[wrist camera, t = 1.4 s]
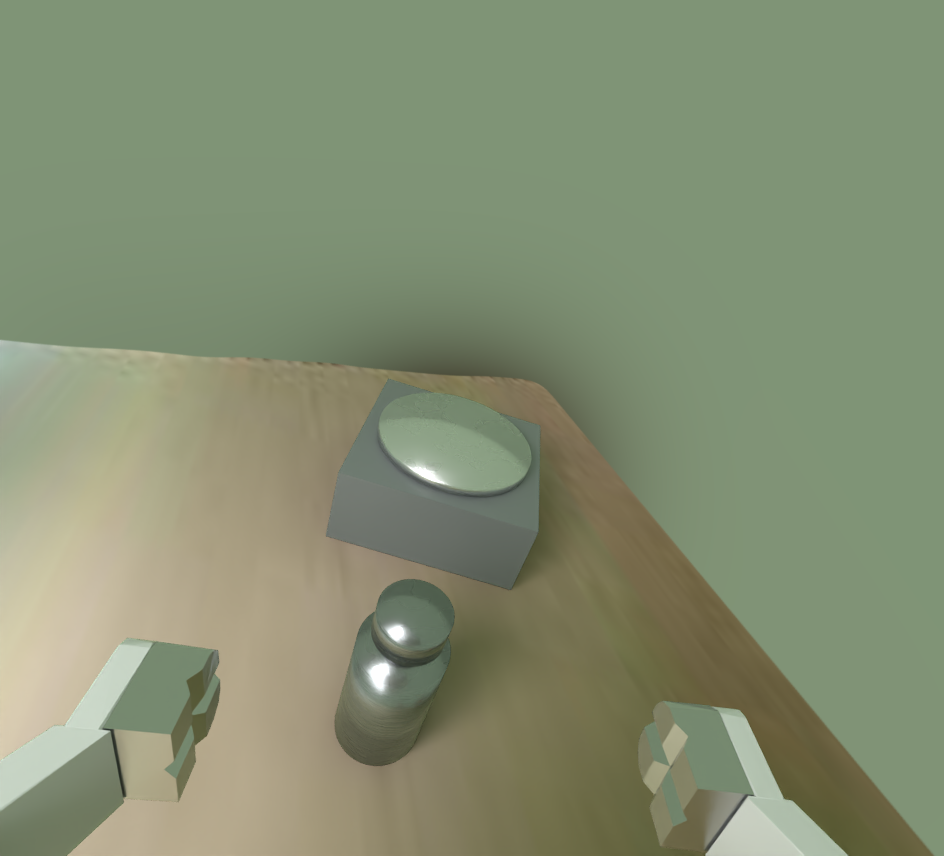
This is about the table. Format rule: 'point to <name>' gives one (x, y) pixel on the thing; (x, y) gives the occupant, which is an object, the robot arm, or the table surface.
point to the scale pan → (453, 444)
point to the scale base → (434, 509)
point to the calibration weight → (394, 672)
